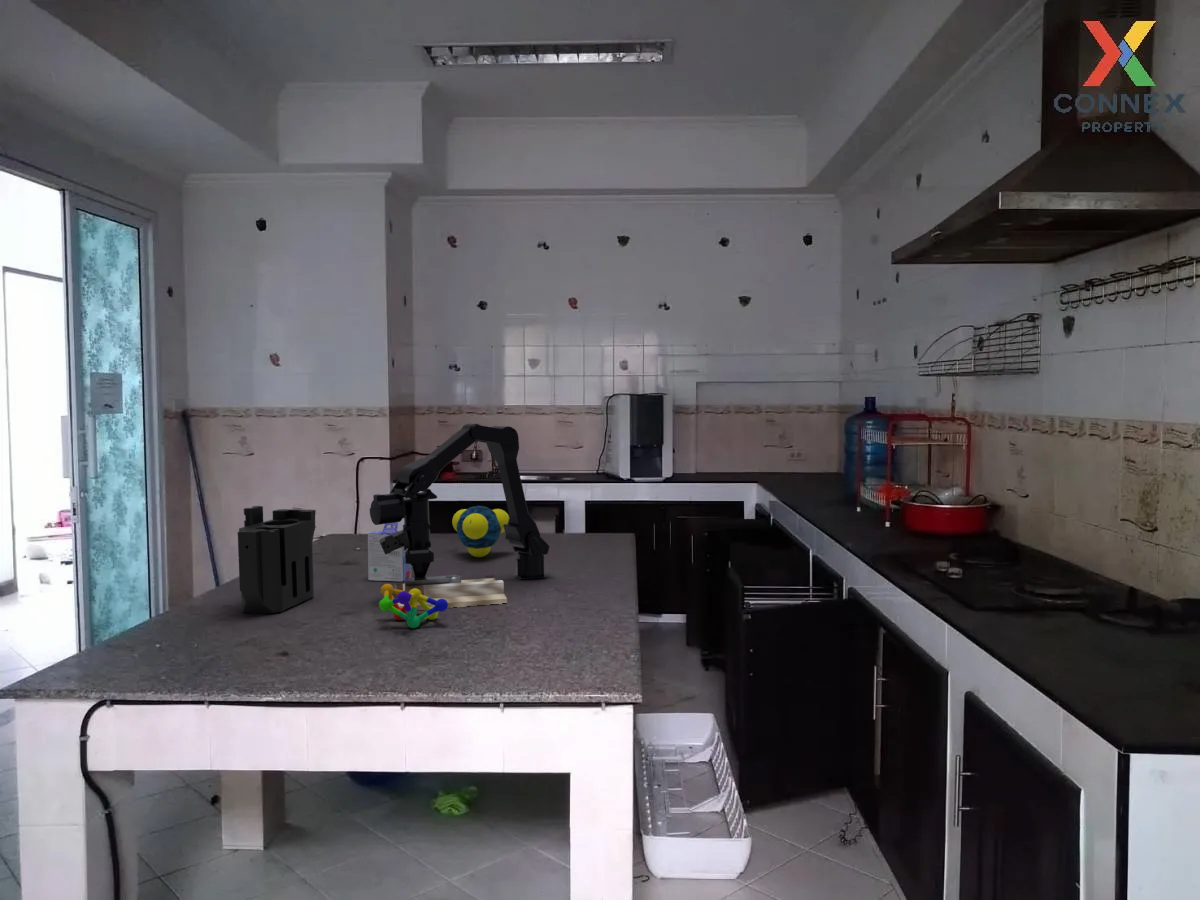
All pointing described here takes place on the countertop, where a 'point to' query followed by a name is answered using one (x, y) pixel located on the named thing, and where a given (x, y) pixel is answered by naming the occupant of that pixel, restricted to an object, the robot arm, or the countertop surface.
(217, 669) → the countertop surface
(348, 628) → the countertop surface
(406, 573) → the ink cartridge box
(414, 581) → the latch bar
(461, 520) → the toy
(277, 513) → the black machined bracket
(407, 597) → the decorative model
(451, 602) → the board
